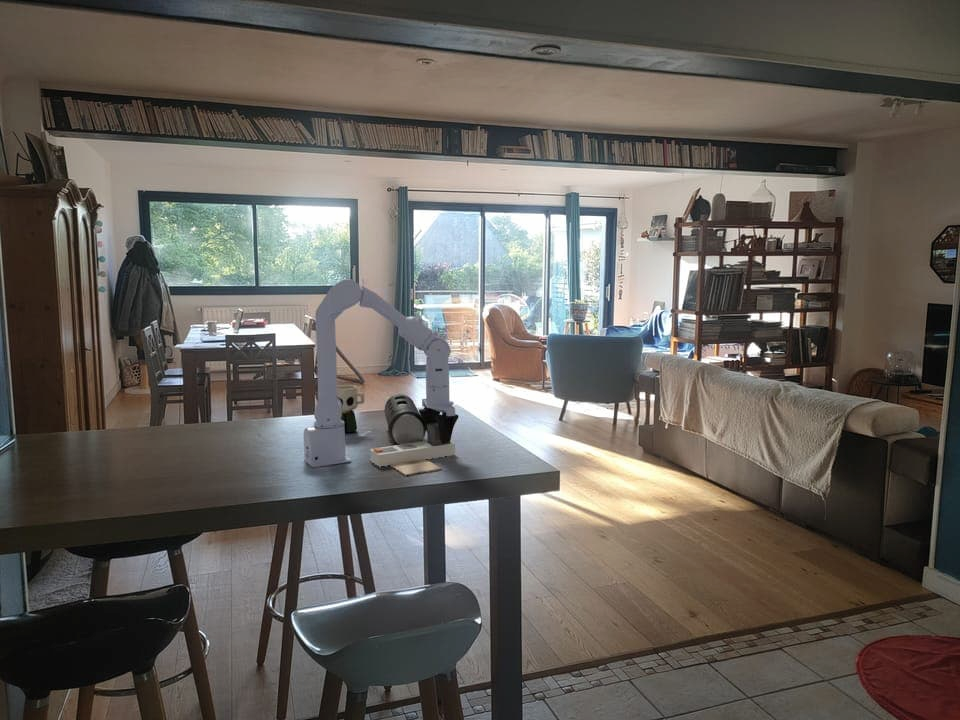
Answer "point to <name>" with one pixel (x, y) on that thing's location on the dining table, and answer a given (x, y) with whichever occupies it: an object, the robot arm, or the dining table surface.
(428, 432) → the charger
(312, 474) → the dining table surface
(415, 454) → the socket strip
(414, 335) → the robot arm
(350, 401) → the character mug
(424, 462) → the coaster
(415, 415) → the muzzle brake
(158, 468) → the dining table surface
